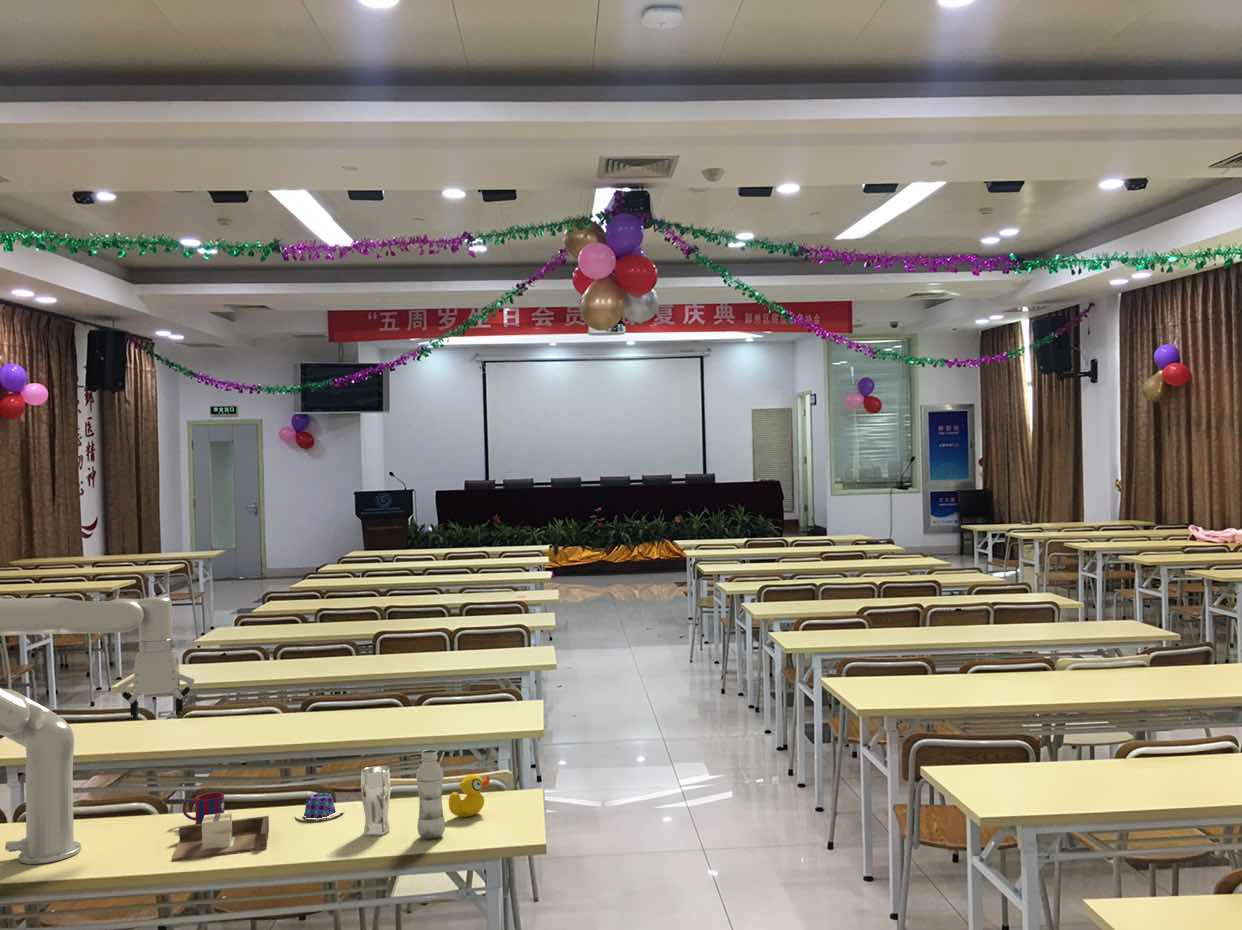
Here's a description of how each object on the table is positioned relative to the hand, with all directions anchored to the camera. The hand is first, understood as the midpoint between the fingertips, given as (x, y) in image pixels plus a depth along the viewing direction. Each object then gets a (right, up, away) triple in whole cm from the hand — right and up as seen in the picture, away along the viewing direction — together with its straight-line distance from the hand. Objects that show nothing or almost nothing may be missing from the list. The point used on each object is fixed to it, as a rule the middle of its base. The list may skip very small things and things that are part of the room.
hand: (157, 716), depth 245 cm
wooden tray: (+21, -27, -13) cm, 37 cm away
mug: (+10, -29, +5) cm, 30 cm away
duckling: (+77, -26, +4) cm, 81 cm away
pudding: (+38, -28, +8) cm, 48 cm away
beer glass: (+56, -26, -7) cm, 62 cm away
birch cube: (+20, -26, -13) cm, 36 cm away
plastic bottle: (+70, -26, -12) cm, 76 cm away
